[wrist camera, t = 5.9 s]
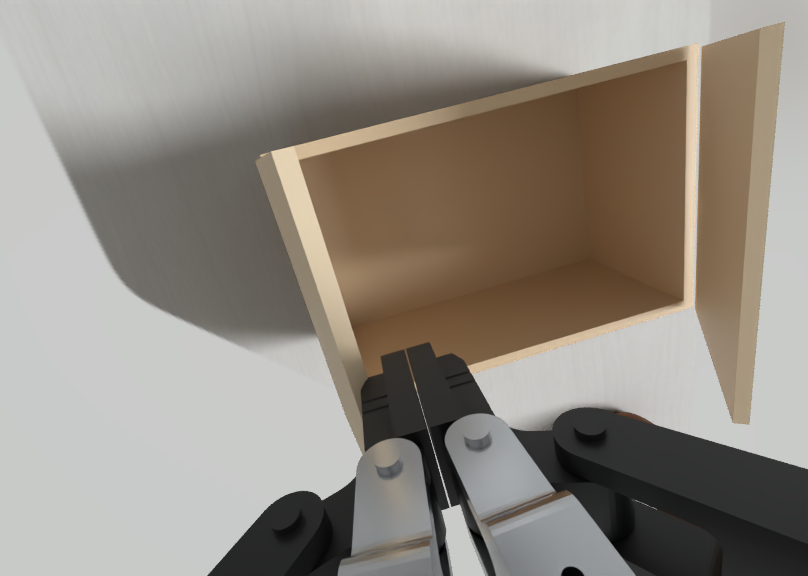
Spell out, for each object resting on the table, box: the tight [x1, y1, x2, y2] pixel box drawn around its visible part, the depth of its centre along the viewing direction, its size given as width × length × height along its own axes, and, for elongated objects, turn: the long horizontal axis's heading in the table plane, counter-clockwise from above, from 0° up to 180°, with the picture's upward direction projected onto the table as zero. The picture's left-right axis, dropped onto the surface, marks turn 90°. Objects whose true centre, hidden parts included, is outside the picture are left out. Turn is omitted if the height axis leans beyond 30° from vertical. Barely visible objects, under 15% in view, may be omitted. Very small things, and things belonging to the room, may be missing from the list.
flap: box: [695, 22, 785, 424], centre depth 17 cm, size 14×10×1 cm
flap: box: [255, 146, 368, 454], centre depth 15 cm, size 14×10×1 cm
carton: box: [260, 43, 699, 391], centre depth 26 cm, size 14×21×10 cm, turn 104°
